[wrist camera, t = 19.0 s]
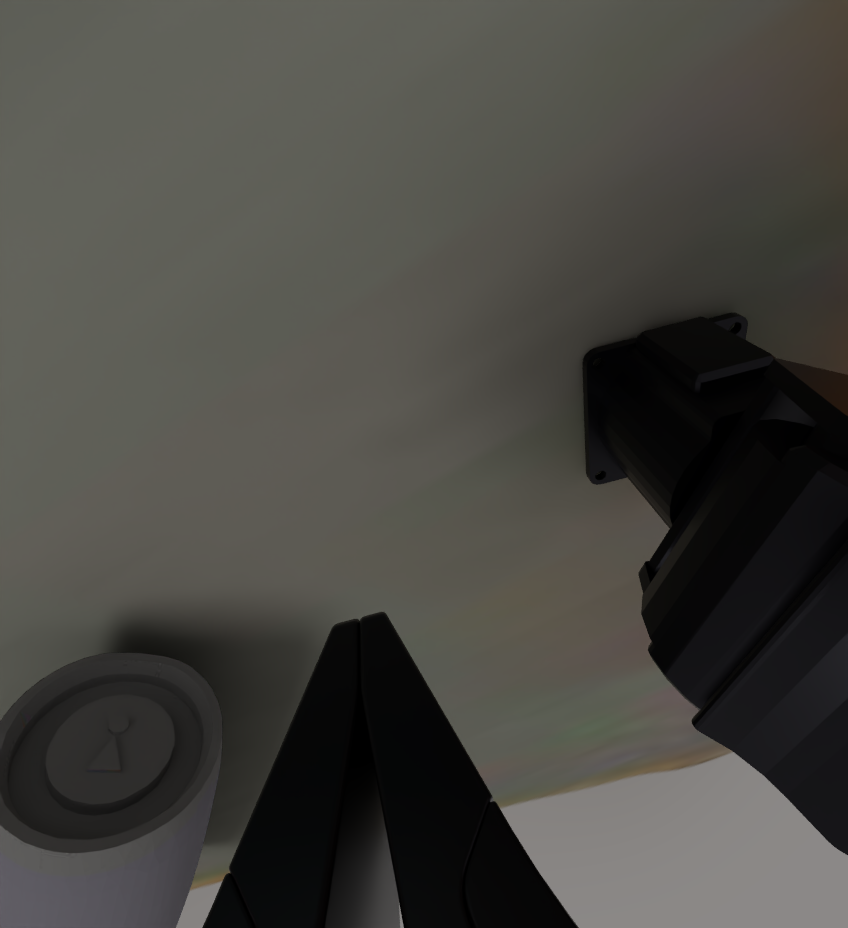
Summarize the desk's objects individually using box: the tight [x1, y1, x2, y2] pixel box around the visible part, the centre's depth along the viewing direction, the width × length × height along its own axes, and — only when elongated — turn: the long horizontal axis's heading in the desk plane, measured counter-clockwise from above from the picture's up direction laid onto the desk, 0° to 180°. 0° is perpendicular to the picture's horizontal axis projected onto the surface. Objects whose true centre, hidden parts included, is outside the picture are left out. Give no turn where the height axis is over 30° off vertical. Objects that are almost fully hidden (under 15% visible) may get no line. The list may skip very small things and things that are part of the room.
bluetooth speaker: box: [0, 653, 223, 928], centre depth 27 cm, size 23×9×10 cm, turn 160°
